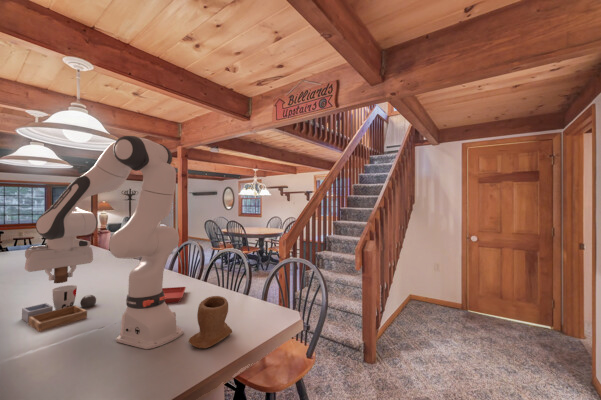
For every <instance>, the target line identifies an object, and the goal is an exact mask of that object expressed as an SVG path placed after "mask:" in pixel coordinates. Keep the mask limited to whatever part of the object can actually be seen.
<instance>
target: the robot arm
mask: <svg viewBox="0 0 601 400" xmlns="http://www.w3.org/2000/svg"><path fill="white" fill-rule="evenodd" d="M172 162H173V154H172V151H171V150H170V148H169V147H167V146H165V145H164V144H162V143H158V142H156V141H153V140H151V139H147V138H143V137H138V136H135V135H123V136H121V137H119V138H118V139H117V140H116V141H114V142H111V143H110V144H109V145H108V146H107V147H106V149H104V150H103V152H102V154H101V155H100V156H99V157H98V159H97V161H96V162H95V164H94V165H93V166H92V167H91V168H90V169H89V170H88V171H87V172H85V173H84V174H82V175H81V176H78V177H76V178H75V179H74V180H73V181H72V182H71V183H70V184H69V185H68V186H67V187H66V189H65V190H63V192H62V193H61V194H60V195H59V196H58V198H57V199H56V200H55V202H54V203H53V204H52V205H50V206H49V208H48V209H46V211H45V212H43V213H42V214H41V215H40V216H39V217H38V218H37V220H36V222H35V230H36V232H37V233H38V234H39V235H40V236H41V237H43V238H45V239H46V244H45V245H44V244H43V245H33V246H30V247H28V248H27V249H26V250H25V251H24V257H25V258H26V259H25V264H24V270H25V271H27V272H29V273H31V272H38V271H45V273H46V275H47V276H48V281H49V282H51V281H54V280H55V275H54V274H52V273H51V272H52V271H53V269H54V268H60V267H67V266H68V267H69V268H70V270H69V271H68V278H73V273H74V272H75V270H76V269H77V266H80V265H86V264H91V263H92V262H93V260H94V254H93V253H94V252H93V249H92V247H91V241H89V240H84V239H82V238H77V237H80V236H88V235H91V234H93V233H94V232H95V231H96V230H97V228H98V223H99V222H98V217H97V216H96V215H95V213H93V212H92V211H86V210H84V209H81V208H79V207H78V206H79V204H80V203H82V201H84V200H85V199H87V198H88V197H92V196H94V195H100V194H104V193H108V192H109V193H110V192H113V191H114V192H115V191H116V190H118V189H119V188H120V187H122V186H123V185H124V184H125V182H126V181H127V179H128V177H129V175H130V174H131V172H132V170H133V171H135V172H137V171H140V172H141V173H142V183H141V187H140V192H139V196H138V200H137V204H136V207H135V210H134V212H132V213H133V214H132V216H131V217H130V218H129V219H128V221H126V223H125V224H124V225H123V226H122V227H120V228H119V229H117V230H116V231H114V233H112V234H111V236H110V238H109V240H108V248H109V252H110V253H111V254H112V256H114V257H115V258H117V259H131V260H132V259H137V258H141V259H140V261H139V262H138V264H137V265H136V266H135V267H134V268H132V270H130V272H129V273H128V274H129V276H128V290H127V291H128V294H126V299H125V302H126V303H125V305H126V306H127V307H126V309H125V311H124V313H122V317H121V325H120V334H119V335H118V336H117V337H116V339H115V342H116V343H121V344H125V345H128V346H133V347H136V348H139V349H143V350H144V349H145V350H149V349H154V348H157V347H161V346H163V345H165V344H168V343H170V342H173V341H175V340H177V339H178V338H180V337H181V336H182V335H184V329H182V328H181V327H180V326H178V325H177V318H176V316H177V315H176V311H172V310H171V308H170V307H169V306H168V305H167V303H165V299H166V298H165V297H166V296H165V295H164V292H163V290H162V288H163V284H164V283H163V281H164V271H165V267H166V264H167V262H168V259H169V257H170V255H171V254H172V252H173V251H174V250H175V249H176V247H178V245H179V242H180V235H179V232H178V230H177V229H176V228H174V227H173V226H168V225H167V226H166V225H159V224H160V223H161V221H162V220H164V219H165V218H167V217H168V216H169V215H170V213H171V210H172V205H173V201H174V196H175V191H176V182H177V171H176V168H175V167H174V166H173V165H172Z"/></svg>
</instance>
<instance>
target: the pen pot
mask: <svg viewBox="0 0 601 400" xmlns="http://www.w3.org/2000/svg"><path fill="white" fill-rule="evenodd" d="M53 308H54V305H51V304H49V303H47V302H45V303H40V304H36V305H31V306H27V307H23V308H21V320H22V321H24V322H26V323H27V324H28V321H29V317H30V316H34V315H38V314H42V313H46V312H50V311H54V310H53Z"/></svg>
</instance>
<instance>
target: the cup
mask: <svg viewBox="0 0 601 400" xmlns="http://www.w3.org/2000/svg"><path fill="white" fill-rule="evenodd" d="M77 288H78V286H77V285H74V284H70V285H61V286H57V287H54V288H52V291H51V292H52V300H53V301H52V302H53V308H54V310H58V309H62V308H66V307H70V306H74V305H75V300H76V298H77V290H78V289H77Z"/></svg>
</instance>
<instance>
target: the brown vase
mask: <svg viewBox="0 0 601 400" xmlns="http://www.w3.org/2000/svg"><path fill="white" fill-rule="evenodd" d="M197 307H198V308H197V315H196V317H197V324H198V328H199V331H198V332H197V333H195V334H194V335H192V336H191V337H190V338H189V339H188V343H189V344H190V345H191V346H193V347H195V348H199V349H208V348H211V347H213V346H215V345H217V344H218V343H220V341H222V340H224V339H225V338H227V337H228V336H230V335H231V334H232V333H233V330H232V328H231V327H230V326H229V325H228V324H227V322H226V318H227V316H228V314H229V302H228V300H227V299H226V297H223V296H220V295H212V296H207V297H206V298H204V299H203V300H201V302H200V303H199V305H198V306H197Z"/></svg>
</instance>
